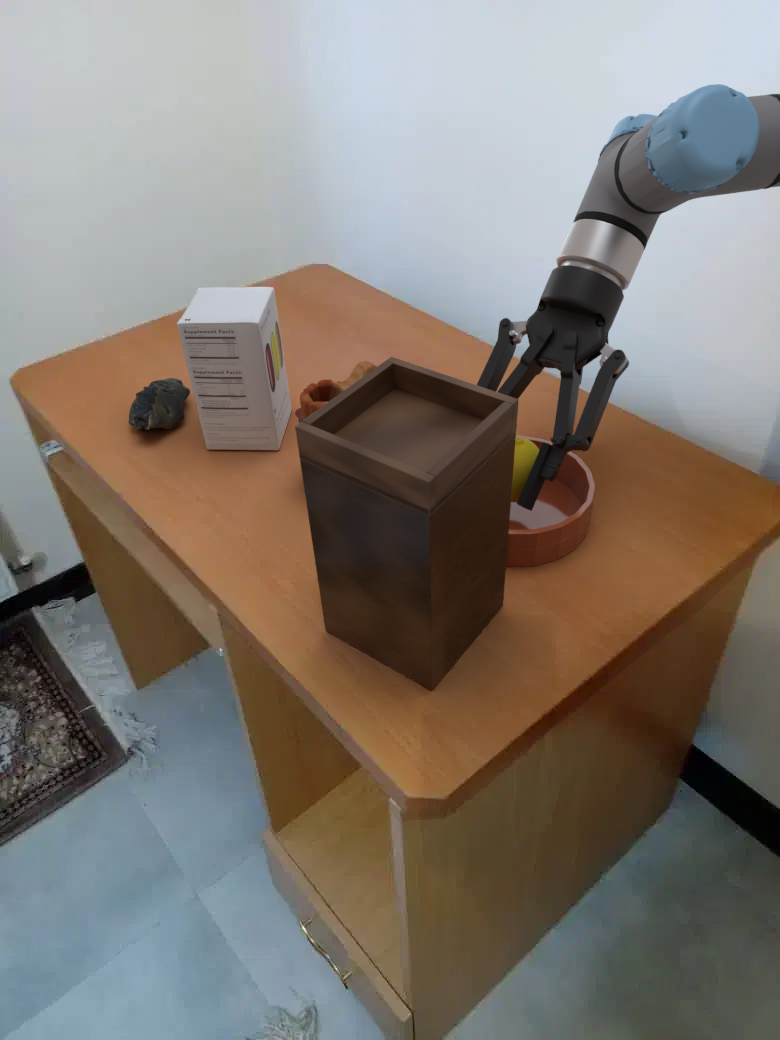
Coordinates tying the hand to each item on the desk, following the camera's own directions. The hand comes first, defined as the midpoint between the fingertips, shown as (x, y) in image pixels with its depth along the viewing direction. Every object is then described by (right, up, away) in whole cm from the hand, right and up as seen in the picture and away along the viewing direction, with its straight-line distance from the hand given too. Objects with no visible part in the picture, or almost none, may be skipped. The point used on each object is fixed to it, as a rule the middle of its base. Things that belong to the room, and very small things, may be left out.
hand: (497, 496), depth 79 cm
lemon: (+2, -1, +4) cm, 5 cm away
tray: (-9, +3, -18) cm, 21 cm away
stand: (-8, -12, -5) cm, 15 cm away
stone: (-40, +11, +23) cm, 48 cm away
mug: (-15, +3, +12) cm, 20 cm away
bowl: (+2, -2, +6) cm, 6 cm away
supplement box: (-28, +9, +20) cm, 36 cm away
